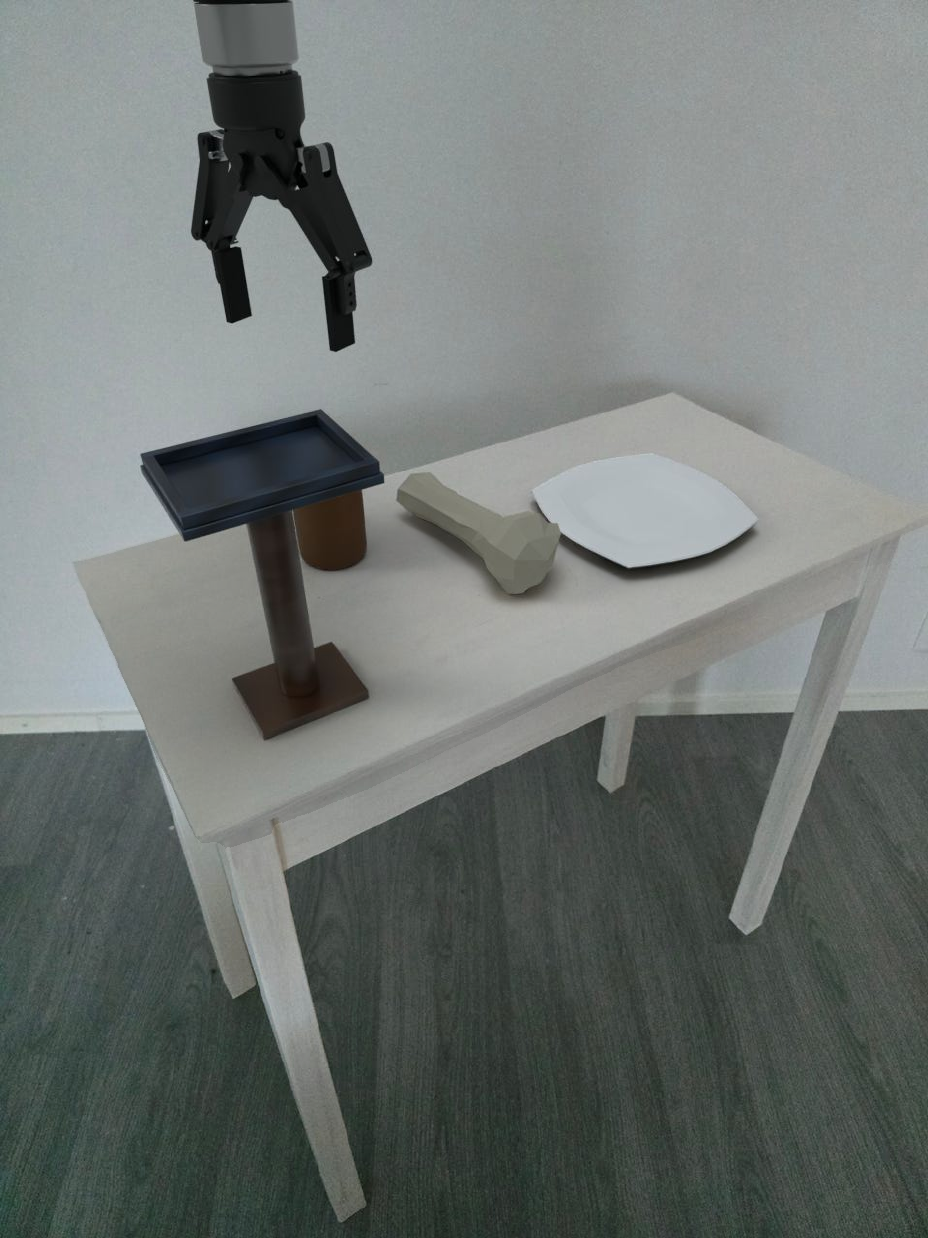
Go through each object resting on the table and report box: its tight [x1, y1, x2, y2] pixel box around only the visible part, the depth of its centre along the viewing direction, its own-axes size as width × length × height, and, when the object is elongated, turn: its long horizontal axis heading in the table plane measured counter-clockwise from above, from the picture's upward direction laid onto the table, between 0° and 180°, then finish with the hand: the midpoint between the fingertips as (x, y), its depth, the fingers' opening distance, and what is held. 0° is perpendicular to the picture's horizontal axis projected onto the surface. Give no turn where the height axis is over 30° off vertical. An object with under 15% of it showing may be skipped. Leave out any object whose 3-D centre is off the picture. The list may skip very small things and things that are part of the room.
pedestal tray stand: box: [140, 408, 385, 741], centre depth 69 cm, size 15×11×24 cm
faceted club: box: [396, 471, 562, 595], centre depth 92 cm, size 9×8×25 cm
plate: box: [530, 452, 760, 570], centre depth 98 cm, size 23×23×2 cm
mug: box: [292, 490, 368, 570], centre depth 92 cm, size 12×8×9 cm, turn 41°
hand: (289, 332), depth 80 cm, fingers open, 13 cm apart
